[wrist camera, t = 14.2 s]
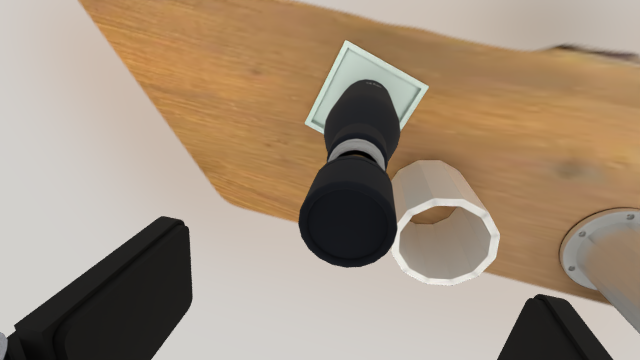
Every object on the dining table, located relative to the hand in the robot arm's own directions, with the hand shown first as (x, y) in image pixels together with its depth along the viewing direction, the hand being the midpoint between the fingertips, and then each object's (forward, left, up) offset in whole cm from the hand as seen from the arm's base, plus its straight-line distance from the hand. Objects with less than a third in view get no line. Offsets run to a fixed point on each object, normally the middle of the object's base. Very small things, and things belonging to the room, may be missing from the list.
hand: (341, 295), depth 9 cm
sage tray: (0, 0, -35) cm, 35 cm away
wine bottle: (0, 0, -34) cm, 34 cm away
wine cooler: (-14, +7, -35) cm, 38 cm away
